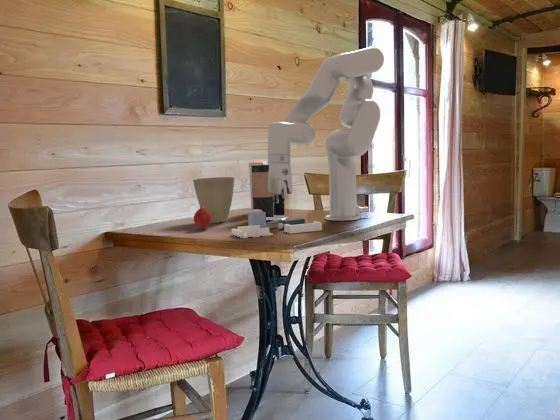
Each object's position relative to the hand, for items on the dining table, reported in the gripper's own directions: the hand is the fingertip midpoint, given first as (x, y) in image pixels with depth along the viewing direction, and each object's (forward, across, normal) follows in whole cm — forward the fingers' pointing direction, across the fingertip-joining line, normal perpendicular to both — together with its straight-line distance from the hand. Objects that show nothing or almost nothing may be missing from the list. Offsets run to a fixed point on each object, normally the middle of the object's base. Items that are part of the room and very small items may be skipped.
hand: (279, 214), depth 193 cm
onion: (+5, +8, +24) cm, 26 cm away
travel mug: (+4, +18, -2) cm, 19 cm away
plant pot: (+4, +25, +14) cm, 29 cm away
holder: (+4, -14, +15) cm, 21 cm away
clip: (+4, -15, -1) cm, 16 cm away
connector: (+4, -5, +10) cm, 12 cm away
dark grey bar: (+4, -7, -2) cm, 8 cm away
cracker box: (+4, +38, -9) cm, 39 cm away
